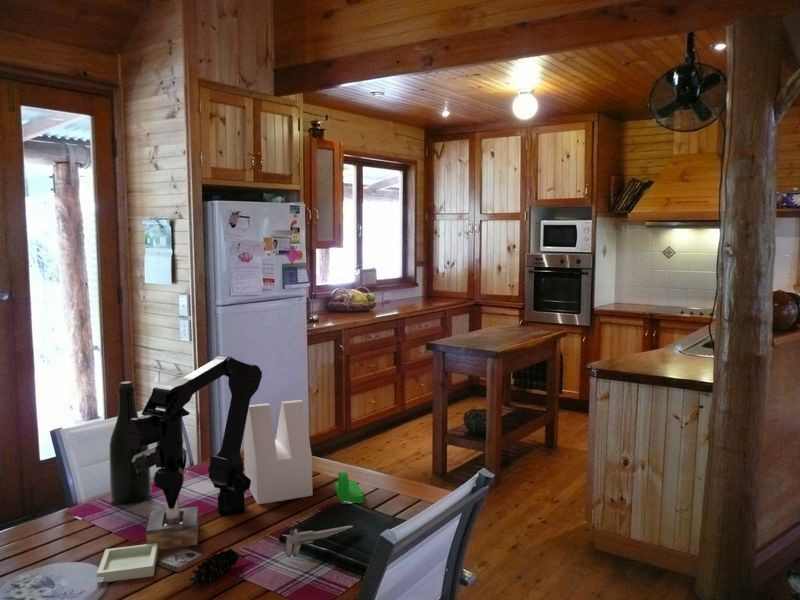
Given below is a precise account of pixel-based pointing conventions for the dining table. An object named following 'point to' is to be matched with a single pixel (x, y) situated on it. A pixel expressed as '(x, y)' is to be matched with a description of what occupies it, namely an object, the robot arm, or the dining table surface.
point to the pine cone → (215, 566)
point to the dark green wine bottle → (126, 455)
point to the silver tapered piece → (173, 514)
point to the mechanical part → (348, 489)
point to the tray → (128, 562)
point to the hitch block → (173, 529)
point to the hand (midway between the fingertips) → (172, 500)
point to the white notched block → (278, 453)
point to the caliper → (308, 538)
